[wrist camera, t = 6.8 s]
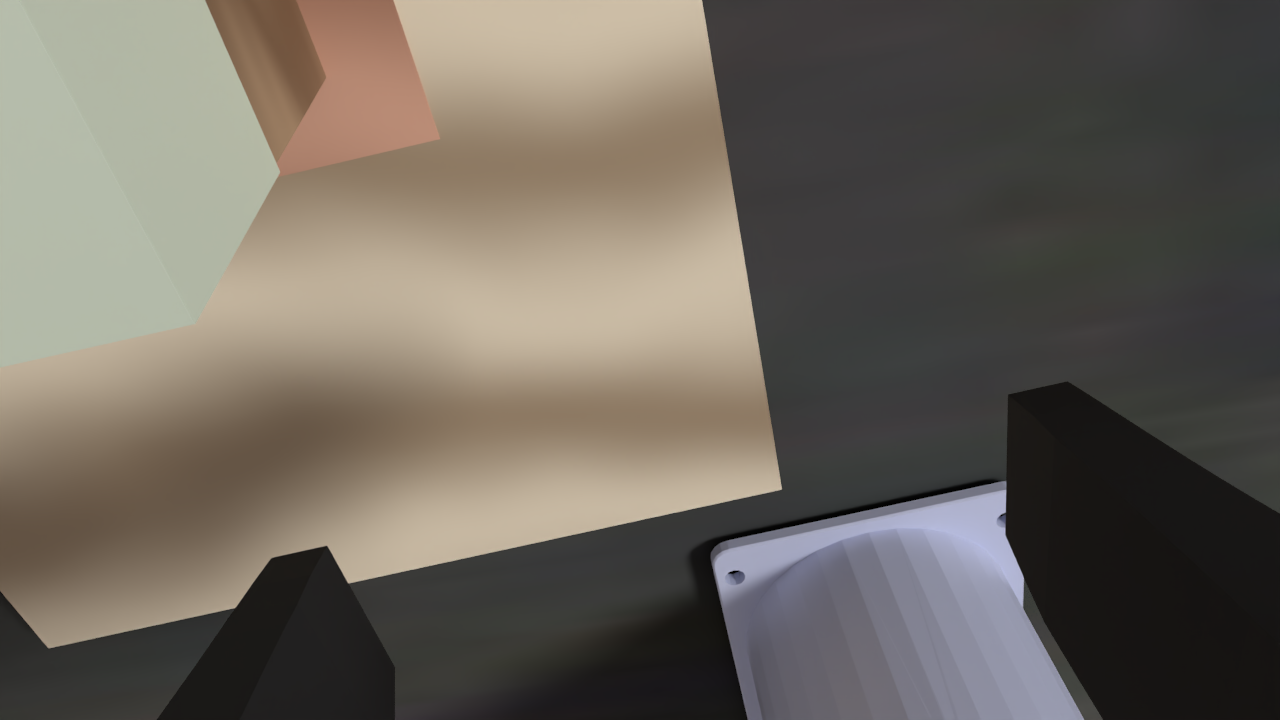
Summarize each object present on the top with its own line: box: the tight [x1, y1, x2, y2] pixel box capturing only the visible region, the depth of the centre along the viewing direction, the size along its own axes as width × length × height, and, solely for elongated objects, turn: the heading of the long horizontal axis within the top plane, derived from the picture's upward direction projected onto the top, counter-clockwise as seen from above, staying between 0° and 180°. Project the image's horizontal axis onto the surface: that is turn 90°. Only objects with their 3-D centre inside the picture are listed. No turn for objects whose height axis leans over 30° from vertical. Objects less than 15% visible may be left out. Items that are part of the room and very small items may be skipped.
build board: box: [0, 0, 782, 648], centre depth 18 cm, size 20×18×1 cm
